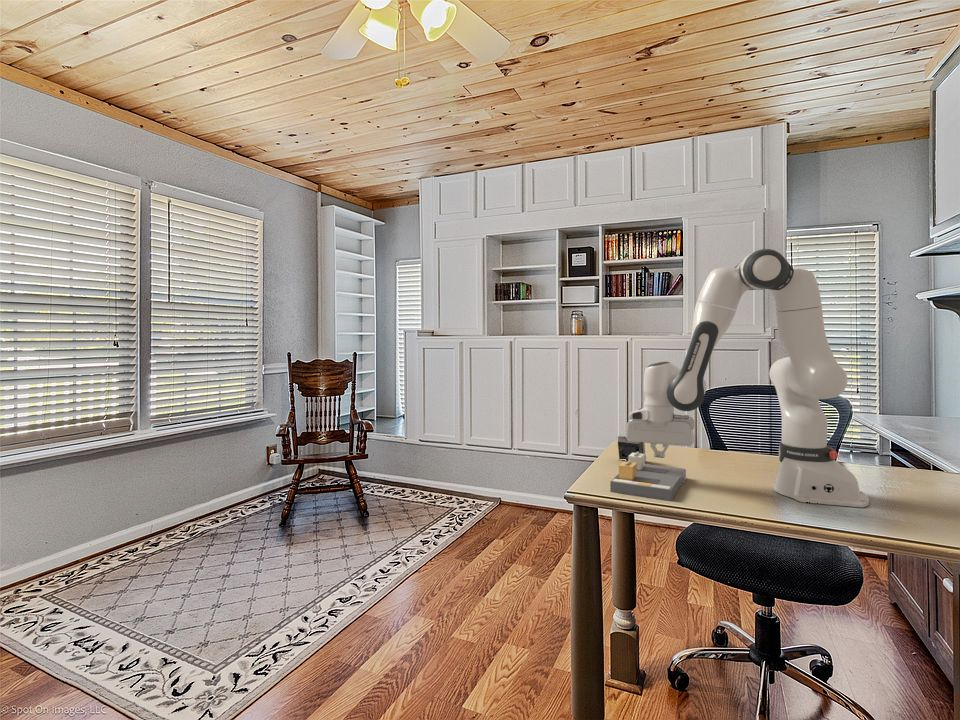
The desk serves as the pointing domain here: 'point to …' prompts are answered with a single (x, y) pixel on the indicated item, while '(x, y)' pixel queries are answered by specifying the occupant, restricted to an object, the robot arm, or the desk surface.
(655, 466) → the switch unit
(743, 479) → the desk surface
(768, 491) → the desk surface
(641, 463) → the ivory slider
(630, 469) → the amber slider
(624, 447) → the grey hollow box
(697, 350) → the robot arm
